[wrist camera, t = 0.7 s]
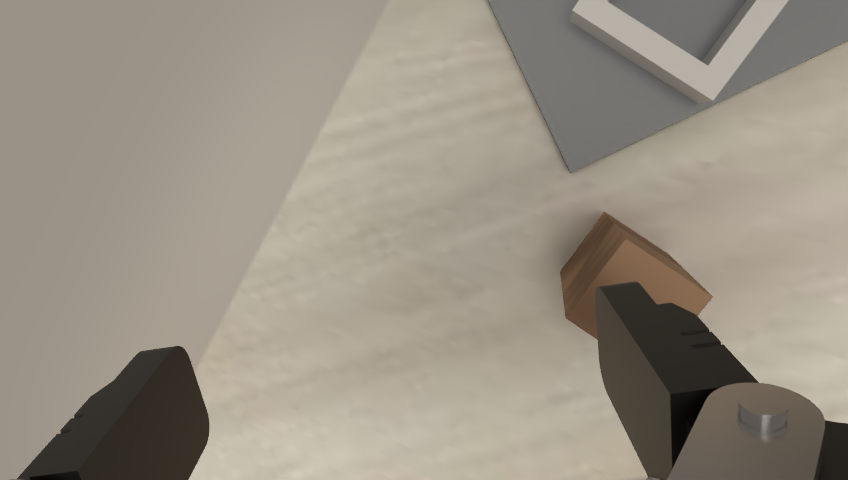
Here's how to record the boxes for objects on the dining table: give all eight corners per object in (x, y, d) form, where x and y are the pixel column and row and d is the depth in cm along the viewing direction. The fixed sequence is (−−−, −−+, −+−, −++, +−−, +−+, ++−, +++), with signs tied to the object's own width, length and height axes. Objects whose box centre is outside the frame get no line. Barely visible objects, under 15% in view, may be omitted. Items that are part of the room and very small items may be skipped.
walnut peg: (604, 211, 35) (626, 238, 26) (668, 254, 35) (713, 296, 26) (560, 271, 36) (565, 317, 27) (622, 313, 36) (648, 374, 27)
